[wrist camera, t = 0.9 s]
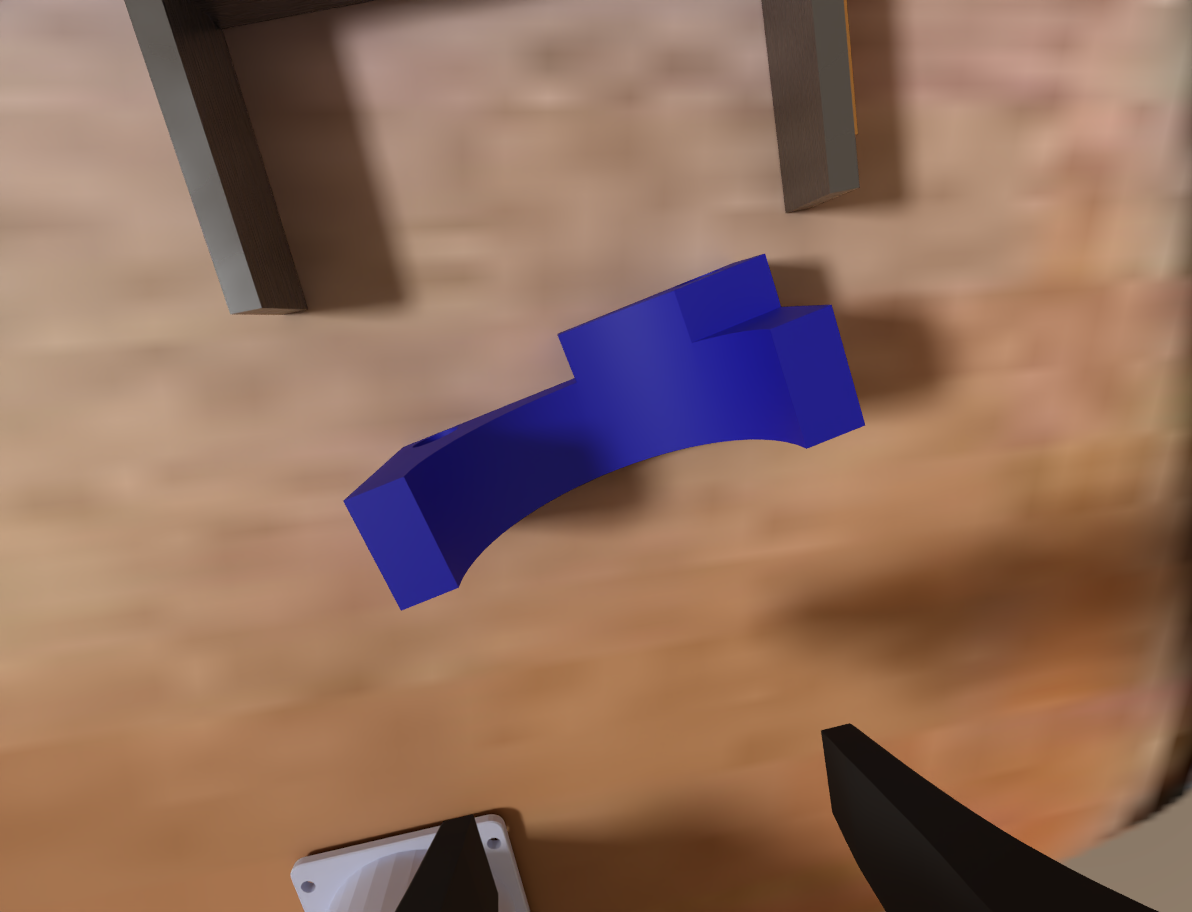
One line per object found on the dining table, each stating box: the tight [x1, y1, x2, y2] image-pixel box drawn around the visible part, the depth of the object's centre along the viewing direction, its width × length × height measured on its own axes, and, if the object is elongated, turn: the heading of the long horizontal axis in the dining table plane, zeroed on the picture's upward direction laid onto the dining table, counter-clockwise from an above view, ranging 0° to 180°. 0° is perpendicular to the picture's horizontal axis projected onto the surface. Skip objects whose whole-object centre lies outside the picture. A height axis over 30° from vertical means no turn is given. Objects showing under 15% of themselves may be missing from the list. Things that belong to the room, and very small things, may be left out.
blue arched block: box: [344, 254, 865, 610], centre depth 17 cm, size 12×4×6 cm, turn 111°
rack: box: [124, 0, 860, 315], centre depth 15 cm, size 11×17×4 cm
